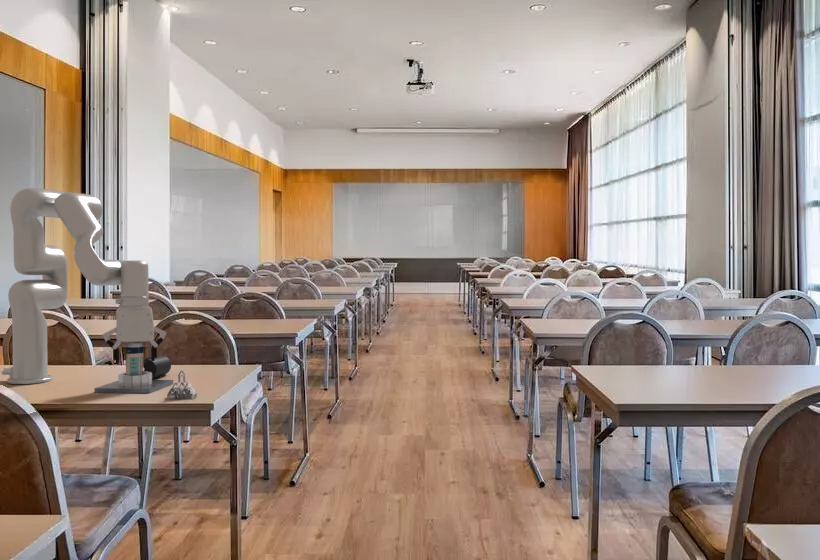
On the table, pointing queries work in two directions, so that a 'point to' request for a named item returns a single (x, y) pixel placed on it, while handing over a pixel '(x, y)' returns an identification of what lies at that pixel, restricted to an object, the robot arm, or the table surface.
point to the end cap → (157, 366)
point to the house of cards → (182, 393)
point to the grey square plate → (134, 384)
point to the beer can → (134, 358)
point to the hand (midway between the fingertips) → (135, 361)
